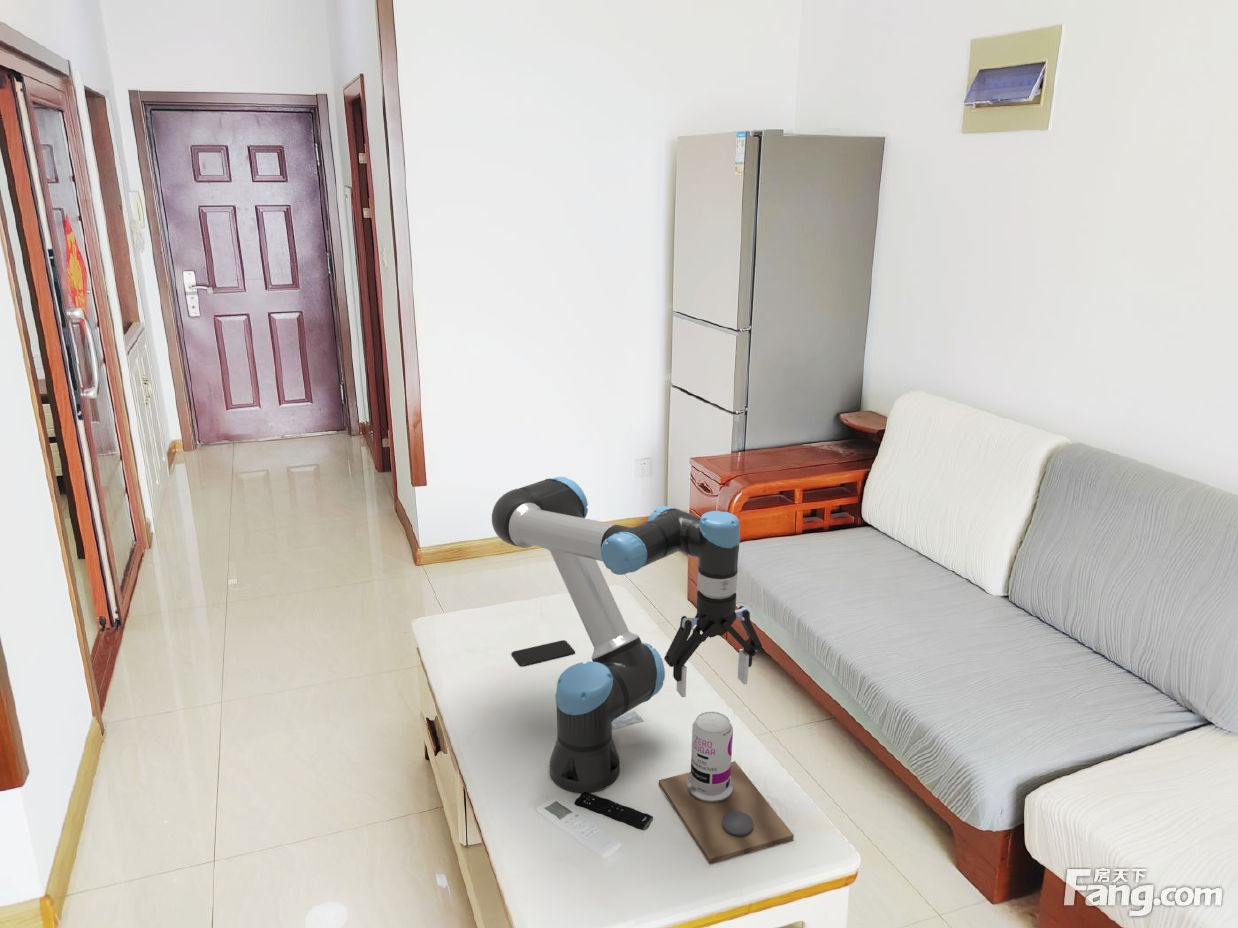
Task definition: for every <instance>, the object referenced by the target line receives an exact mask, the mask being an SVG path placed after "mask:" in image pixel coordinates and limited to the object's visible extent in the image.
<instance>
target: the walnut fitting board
mask: <svg viewBox="0 0 1238 928" xmlns="http://www.w3.org/2000/svg"><path fill="white" fill-rule="evenodd" d="M690 775H691V771H690V772H686V773H682V774H677V775H674V776H670V777H665V778H661V779H658V786H659V788H660V790H661V791H662V793H664V796H666V799H667V800H668V802H669V803H670V805H671V806H672V808H673V810H674V811H675V812H676V815H677V816H678V817H679V819H680V820H681V822H682V824H683V825H684V827H685V829H686V830H687V832H688V833H689V835H690V836H691V837H692V839H693V841H694V842H695V844H696V846H697V847H698V849H699V850H700V852H701V853H702V855H703V856H704V859H705V860H706V861H707V863H708V864H709V865H712V864H715V863H718V862H722V861H725V860H729V859H732V858H735V857H738V856H739V857H740V856H743V855H746V854H750V853H753V852H757V851H760V850H763V849H764V850H765V849H768V848H771V847H774V846H778V845H781V844H784V843H788V842H791V841H794V838H795V837H794V835H795V834H794V833H793V832H792V831H791V829H790V828H789V827H788V826H787V824H785V822H784V821H783V819H782V818H781V816H779V815H778V813H777V812H776V811H775V810H774V808H773V807H772V806H771V804H770V803H769V802H768V801H767V799H765V797H764V795H762V793H761V792H760V790H759V789H758V788H757V787H756V786H755V784H754V783H753V782H752V780H751V779H750V778H749V777H748V776H747V775H746V773H745V772H744V771H743V770H742V768H741V766H739V765H738V763H737V762H736V761H735V760H734V761H731V776H730V778H731V780H732V782H733V793H732V795H731V797H730V798H728V799H727V800H725V801H723V802H720V803H705V802H701V801H699V800H697V799H695V798H694V797H692V796H691V795H690V793H689V792H688V789H687V781H688V778H689V776H690ZM732 811H740V812H743V813H746V814H747V815H749V816H750V817H751V818H752V820H753V830H752V832H751V833H750V834H749V835H747V836H743V837H736V836H732V835H730V834H728V833H726V832H725V831H724V829H723V827H722V818H723V816H724V815H725V814H727V813H728V812H732Z"/></svg>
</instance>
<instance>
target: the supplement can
mask: <svg viewBox="0 0 1238 928" xmlns="http://www.w3.org/2000/svg"><path fill="white" fill-rule="evenodd" d="M691 726H692V728H691V729H692V730H691V734H692V735H691V755H690V758H691V760H690V772H691V780H690V782H691V784H692V786H693V787H694V788H695V789H697V790H698V791H699V792H701V793H703V794H708V795H717V794H720V793H722V792H724V791H725V790H726V789H728V787H729V785H730V776H731V762H732V758H733V757H732V754H733V738H734V737H733V736H734V734H733V733H734V729H733V725H732V723H731V720H730V718H729V717H728V716H727V715H725V714H724V713H720V712H718V711H704V712H701V713H700V714H698V715H697V716H696V718H695V720H694V722H693V723H692V725H691Z"/></svg>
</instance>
